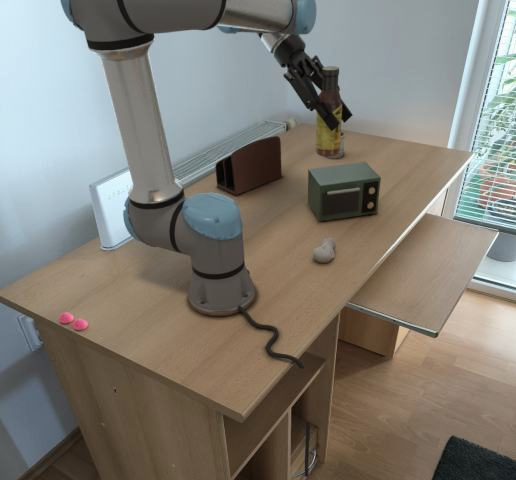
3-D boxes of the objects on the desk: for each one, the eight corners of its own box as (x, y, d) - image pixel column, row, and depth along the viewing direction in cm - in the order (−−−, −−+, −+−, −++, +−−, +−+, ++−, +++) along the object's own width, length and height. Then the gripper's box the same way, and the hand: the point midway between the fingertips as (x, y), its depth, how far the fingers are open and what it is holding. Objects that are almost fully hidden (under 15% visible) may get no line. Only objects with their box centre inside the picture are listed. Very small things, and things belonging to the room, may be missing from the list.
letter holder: (282, 176, 168) (281, 133, 159) (236, 196, 158) (232, 150, 149) (262, 169, 174) (260, 126, 165) (216, 187, 164) (211, 143, 155)
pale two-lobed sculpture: (324, 270, 126) (307, 260, 127) (339, 255, 131) (322, 245, 132) (330, 257, 123) (312, 247, 124) (344, 242, 127) (327, 232, 128)
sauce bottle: (338, 158, 129) (343, 71, 116) (314, 157, 130) (315, 72, 117) (340, 148, 134) (345, 64, 120) (317, 147, 135) (318, 64, 122)
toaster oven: (380, 218, 142) (384, 180, 135) (321, 227, 140) (322, 189, 133) (362, 197, 153) (365, 161, 146) (307, 205, 151) (308, 168, 144)
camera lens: (325, 152, 182) (326, 129, 177) (343, 152, 182) (344, 129, 176) (325, 158, 178) (326, 135, 173) (343, 158, 177) (344, 135, 172)
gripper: (271, 39, 113) (334, 125, 116) (313, 23, 124) (369, 102, 128) (253, 64, 119) (313, 145, 122) (295, 46, 130) (349, 121, 134)
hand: (342, 123), depth 125 cm, fingers closed on sauce bottle, 6 cm apart
